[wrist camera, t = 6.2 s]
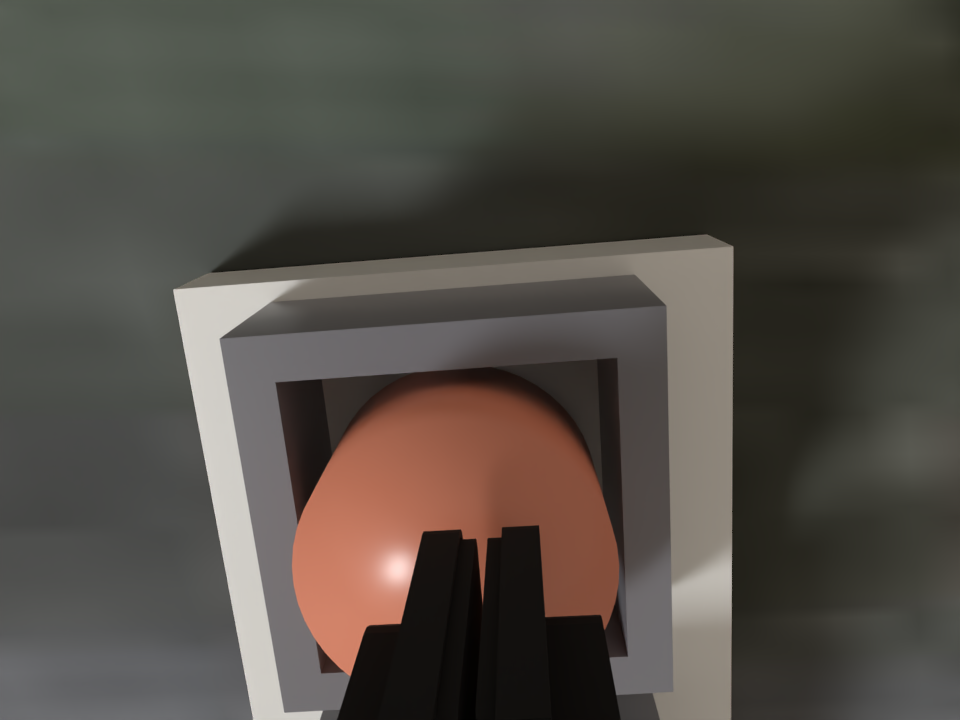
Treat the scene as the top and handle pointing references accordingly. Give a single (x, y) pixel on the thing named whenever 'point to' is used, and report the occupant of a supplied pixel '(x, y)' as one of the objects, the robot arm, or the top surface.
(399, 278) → the button panel
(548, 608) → the brick button
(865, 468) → the top surface
